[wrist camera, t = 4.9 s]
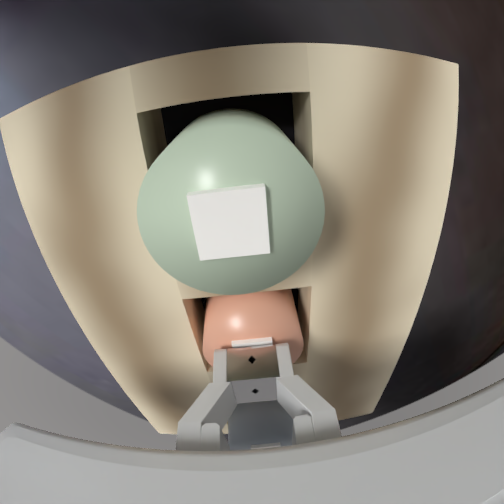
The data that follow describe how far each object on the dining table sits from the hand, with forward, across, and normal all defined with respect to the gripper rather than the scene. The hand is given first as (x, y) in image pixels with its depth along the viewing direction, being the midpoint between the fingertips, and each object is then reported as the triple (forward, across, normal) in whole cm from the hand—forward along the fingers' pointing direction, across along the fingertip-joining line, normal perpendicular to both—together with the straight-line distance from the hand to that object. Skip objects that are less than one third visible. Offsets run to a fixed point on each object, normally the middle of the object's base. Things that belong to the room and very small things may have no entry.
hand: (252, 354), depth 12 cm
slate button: (+2, 0, -7) cm, 7 cm away
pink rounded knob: (+4, 0, 0) cm, 4 cm away
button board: (+4, 0, 0) cm, 4 cm away
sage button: (+2, 0, +7) cm, 7 cm away
